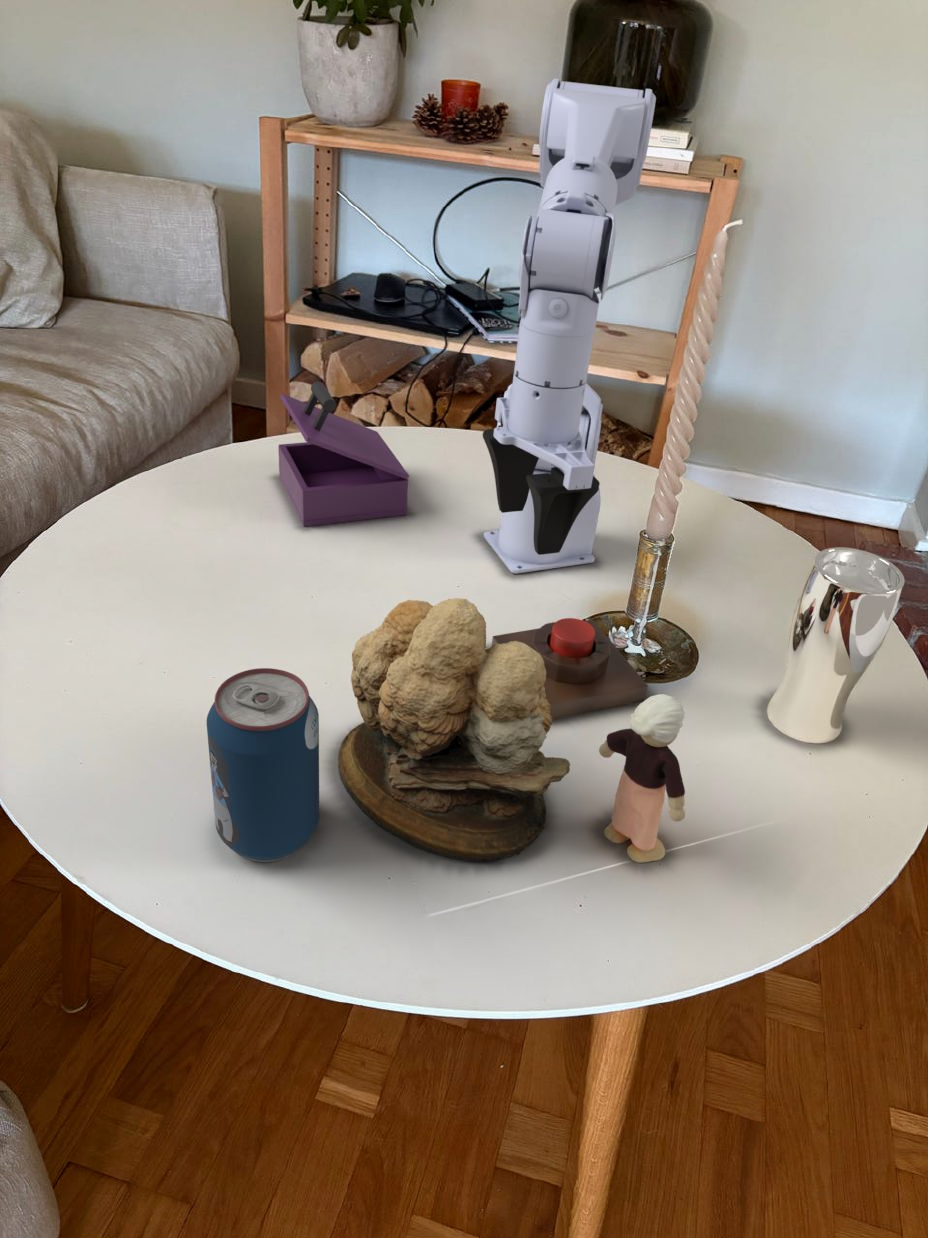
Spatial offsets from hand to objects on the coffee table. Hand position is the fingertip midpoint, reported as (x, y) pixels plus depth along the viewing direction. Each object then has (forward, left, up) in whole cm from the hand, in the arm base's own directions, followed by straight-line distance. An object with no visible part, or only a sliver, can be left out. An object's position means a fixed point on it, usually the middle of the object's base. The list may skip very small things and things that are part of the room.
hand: (528, 530), depth 82 cm
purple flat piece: (+8, -29, -4) cm, 30 cm away
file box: (+8, -29, -11) cm, 32 cm away
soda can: (+26, +17, -11) cm, 33 cm away
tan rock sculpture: (+13, +17, -11) cm, 25 cm away
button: (-2, +7, -7) cm, 11 cm away
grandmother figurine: (+2, +25, -11) cm, 28 cm away
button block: (-2, +7, -11) cm, 13 cm away
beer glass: (-19, +18, -11) cm, 28 cm away
